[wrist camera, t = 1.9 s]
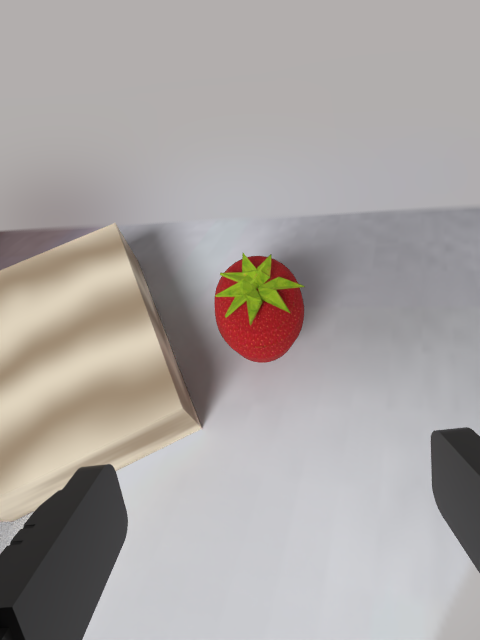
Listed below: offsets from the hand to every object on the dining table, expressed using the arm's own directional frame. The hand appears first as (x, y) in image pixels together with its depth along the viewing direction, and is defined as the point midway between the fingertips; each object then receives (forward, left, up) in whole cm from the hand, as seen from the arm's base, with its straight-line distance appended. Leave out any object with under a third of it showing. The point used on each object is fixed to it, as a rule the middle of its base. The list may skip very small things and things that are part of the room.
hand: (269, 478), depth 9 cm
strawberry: (-11, +4, -15) cm, 19 cm away
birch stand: (-16, -10, -15) cm, 24 cm away
